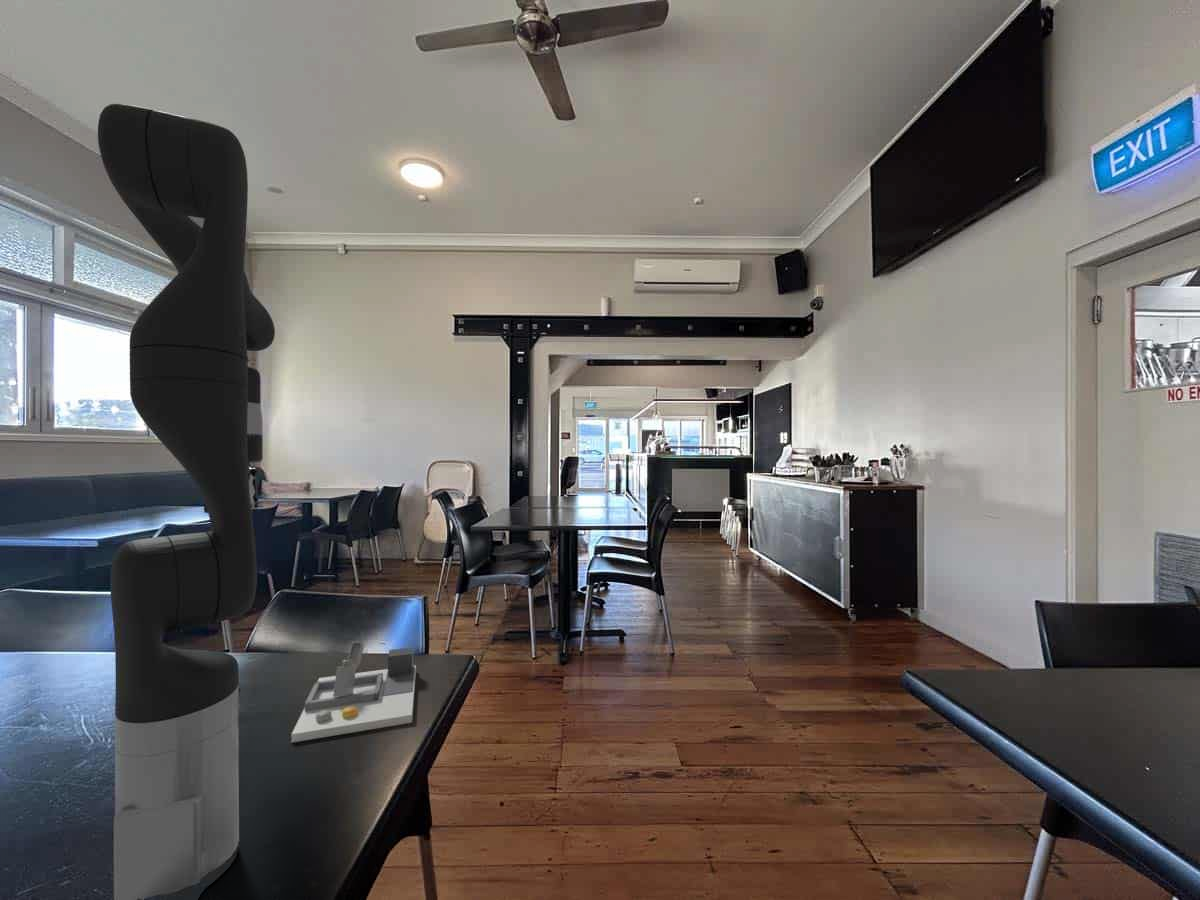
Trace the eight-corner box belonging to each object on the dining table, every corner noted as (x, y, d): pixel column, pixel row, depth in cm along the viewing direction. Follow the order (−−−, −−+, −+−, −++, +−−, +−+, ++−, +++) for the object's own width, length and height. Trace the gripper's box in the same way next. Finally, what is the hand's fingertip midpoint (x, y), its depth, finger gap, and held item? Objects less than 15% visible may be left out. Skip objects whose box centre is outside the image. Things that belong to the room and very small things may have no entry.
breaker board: (411, 722, 75) (411, 706, 75) (291, 742, 70) (291, 725, 70) (415, 671, 92) (415, 658, 92) (319, 684, 87) (319, 671, 87)
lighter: (344, 696, 78) (350, 641, 80) (332, 696, 78) (339, 642, 80) (359, 690, 84) (365, 641, 87) (348, 691, 84) (354, 641, 87)
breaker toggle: (412, 673, 88) (412, 653, 88) (388, 676, 87) (388, 656, 87) (412, 666, 91) (412, 647, 91) (389, 669, 90) (389, 650, 90)
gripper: (245, 431, 71) (245, 543, 71) (275, 433, 85) (275, 527, 85) (182, 430, 69) (182, 546, 69) (223, 433, 82) (223, 530, 82)
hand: (233, 536), depth 77 cm, fingers open, 8 cm apart
